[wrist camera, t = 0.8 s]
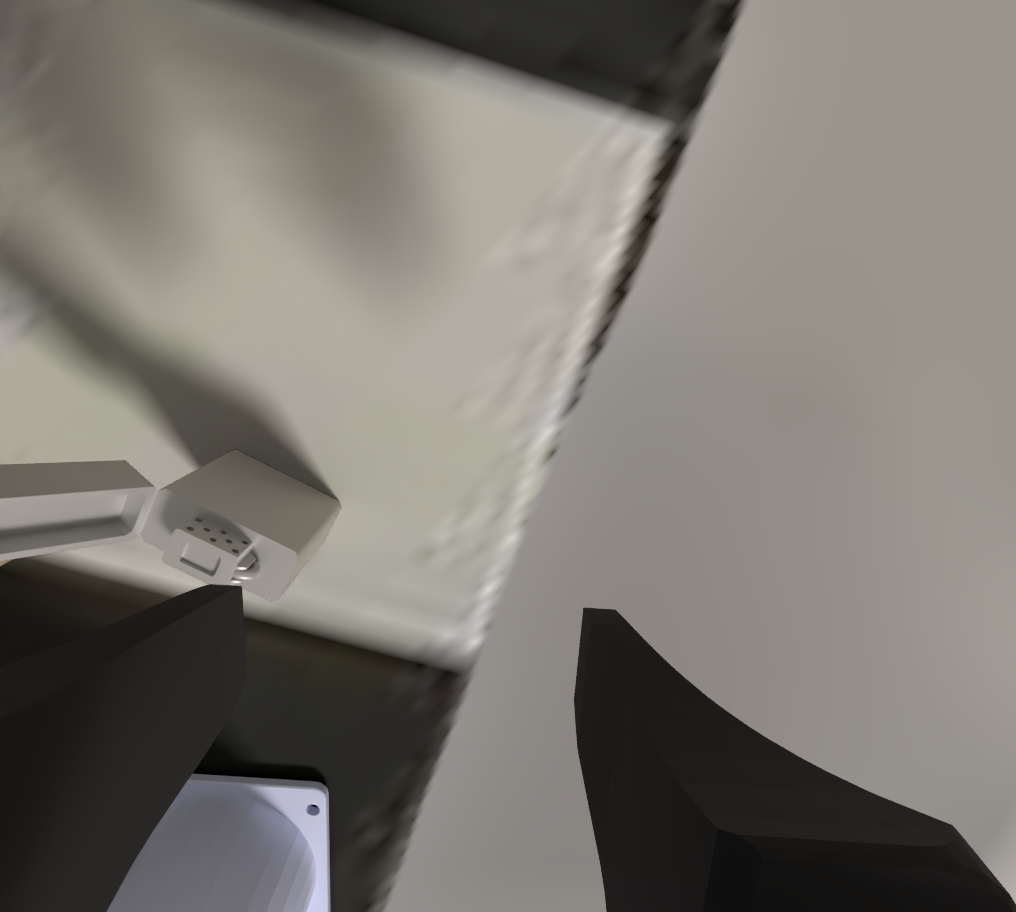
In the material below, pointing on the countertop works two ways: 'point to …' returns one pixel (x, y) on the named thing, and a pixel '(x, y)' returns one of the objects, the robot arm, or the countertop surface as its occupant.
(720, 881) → the robot arm
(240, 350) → the countertop surface
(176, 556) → the lighter
